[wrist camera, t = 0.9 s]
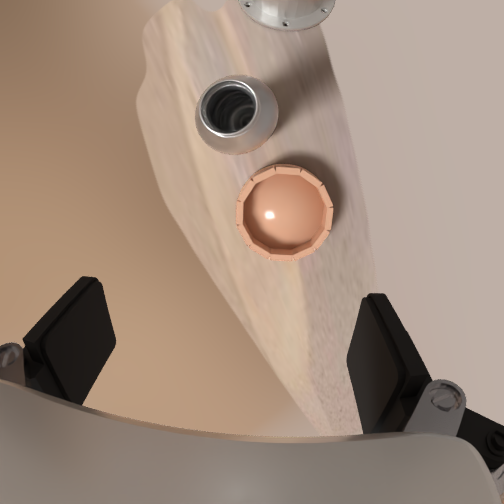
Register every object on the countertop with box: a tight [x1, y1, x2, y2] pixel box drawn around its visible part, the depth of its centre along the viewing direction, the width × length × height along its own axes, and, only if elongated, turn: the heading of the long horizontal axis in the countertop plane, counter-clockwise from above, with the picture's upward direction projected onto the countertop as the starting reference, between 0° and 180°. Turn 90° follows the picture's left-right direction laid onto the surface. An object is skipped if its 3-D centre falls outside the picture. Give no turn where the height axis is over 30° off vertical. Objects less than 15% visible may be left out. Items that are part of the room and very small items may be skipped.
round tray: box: [236, 164, 334, 261], centre depth 38 cm, size 12×12×3 cm
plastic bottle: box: [195, 75, 279, 155], centre depth 26 cm, size 6×7×20 cm
